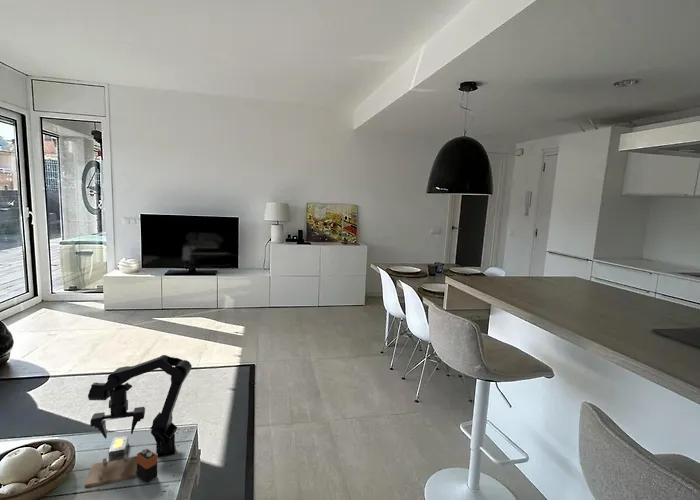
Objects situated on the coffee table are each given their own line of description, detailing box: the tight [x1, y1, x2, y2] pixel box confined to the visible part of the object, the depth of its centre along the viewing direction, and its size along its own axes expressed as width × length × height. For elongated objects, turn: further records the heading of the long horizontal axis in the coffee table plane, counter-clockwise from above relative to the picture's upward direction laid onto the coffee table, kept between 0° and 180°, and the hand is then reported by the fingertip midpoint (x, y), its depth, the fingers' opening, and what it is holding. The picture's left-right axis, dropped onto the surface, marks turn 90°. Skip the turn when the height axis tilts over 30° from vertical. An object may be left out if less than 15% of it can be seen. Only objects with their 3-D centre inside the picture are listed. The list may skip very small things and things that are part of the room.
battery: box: [136, 448, 158, 484], centre depth 144 cm, size 4×7×10 cm, turn 57°
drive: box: [108, 435, 129, 461], centre depth 158 cm, size 10×6×4 cm, turn 22°
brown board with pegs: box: [84, 454, 137, 488], centre depth 146 cm, size 16×12×3 cm
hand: (119, 435), depth 157 cm, fingers open, 9 cm apart
